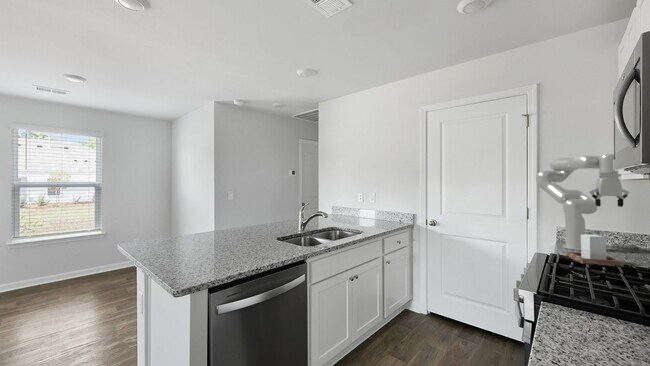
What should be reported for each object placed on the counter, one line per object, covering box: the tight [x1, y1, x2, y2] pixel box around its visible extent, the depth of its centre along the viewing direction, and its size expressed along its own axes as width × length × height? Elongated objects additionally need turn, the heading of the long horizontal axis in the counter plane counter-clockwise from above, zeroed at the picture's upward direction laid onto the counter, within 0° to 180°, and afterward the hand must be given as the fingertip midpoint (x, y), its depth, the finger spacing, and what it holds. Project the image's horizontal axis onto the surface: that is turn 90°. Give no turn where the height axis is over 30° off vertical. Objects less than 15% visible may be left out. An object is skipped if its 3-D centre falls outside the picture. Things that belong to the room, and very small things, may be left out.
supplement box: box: [580, 234, 607, 260], centre depth 150 cm, size 7×7×13 cm
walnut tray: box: [565, 251, 625, 268], centre depth 149 cm, size 18×16×2 cm
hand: (609, 206), depth 161 cm, fingers open, 9 cm apart
